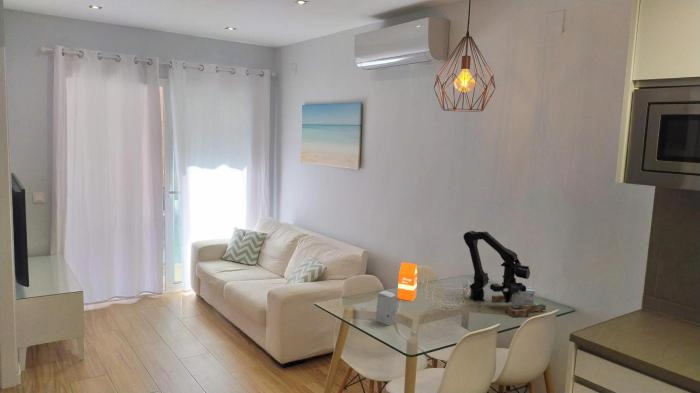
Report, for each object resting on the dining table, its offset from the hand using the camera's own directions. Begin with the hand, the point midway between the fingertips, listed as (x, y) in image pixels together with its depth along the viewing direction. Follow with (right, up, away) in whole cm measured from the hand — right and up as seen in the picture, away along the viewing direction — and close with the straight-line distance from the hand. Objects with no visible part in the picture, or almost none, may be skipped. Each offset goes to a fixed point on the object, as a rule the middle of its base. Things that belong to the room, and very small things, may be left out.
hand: (506, 302), depth 277 cm
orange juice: (-54, +1, +9) cm, 55 cm away
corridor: (+7, -3, -1) cm, 8 cm away
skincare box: (-69, -4, -27) cm, 74 cm away
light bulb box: (+9, -3, +2) cm, 10 cm away
